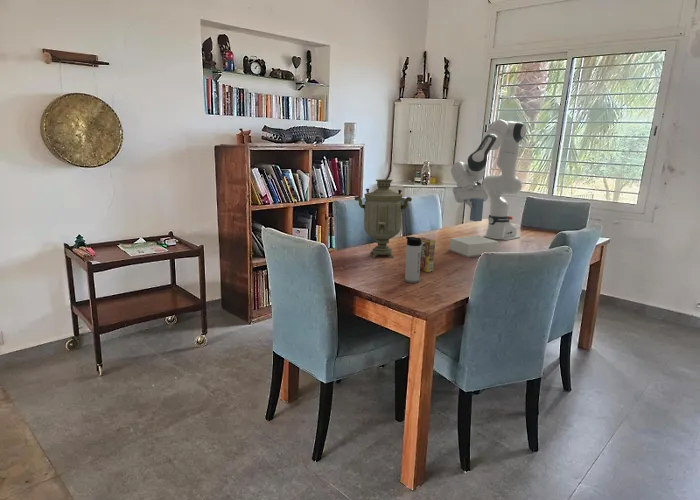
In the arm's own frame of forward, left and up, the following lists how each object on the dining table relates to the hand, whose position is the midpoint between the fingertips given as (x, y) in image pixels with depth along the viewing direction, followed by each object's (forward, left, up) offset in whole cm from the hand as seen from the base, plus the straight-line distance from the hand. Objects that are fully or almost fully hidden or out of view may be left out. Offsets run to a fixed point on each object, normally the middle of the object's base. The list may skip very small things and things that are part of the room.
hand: (476, 207), depth 250 cm
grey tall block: (0, 0, -7) cm, 7 cm away
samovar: (+53, -11, -25) cm, 60 cm away
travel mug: (+60, +32, -25) cm, 73 cm away
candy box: (+45, +19, -25) cm, 55 cm away
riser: (0, 0, -25) cm, 25 cm away
